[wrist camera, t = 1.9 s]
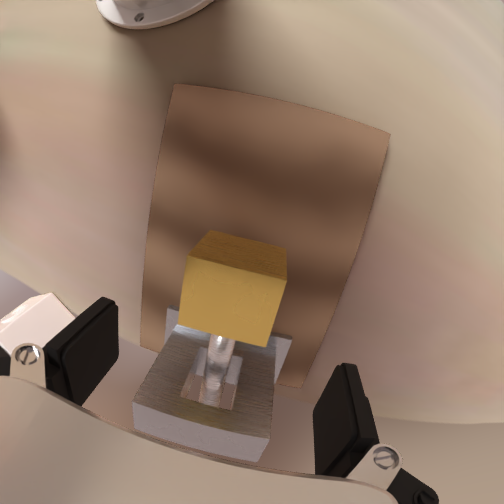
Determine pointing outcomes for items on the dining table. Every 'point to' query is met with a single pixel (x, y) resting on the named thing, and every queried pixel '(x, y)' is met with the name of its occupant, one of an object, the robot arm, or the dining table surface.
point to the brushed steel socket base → (202, 415)
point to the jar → (33, 323)
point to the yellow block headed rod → (230, 299)
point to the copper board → (261, 203)
